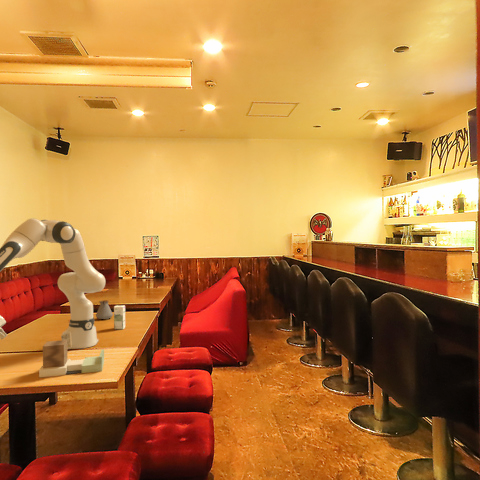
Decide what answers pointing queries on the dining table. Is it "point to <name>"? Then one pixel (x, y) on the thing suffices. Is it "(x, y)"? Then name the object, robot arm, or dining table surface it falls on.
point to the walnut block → (55, 354)
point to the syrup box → (119, 317)
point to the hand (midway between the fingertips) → (4, 337)
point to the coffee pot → (104, 310)
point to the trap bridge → (75, 366)
